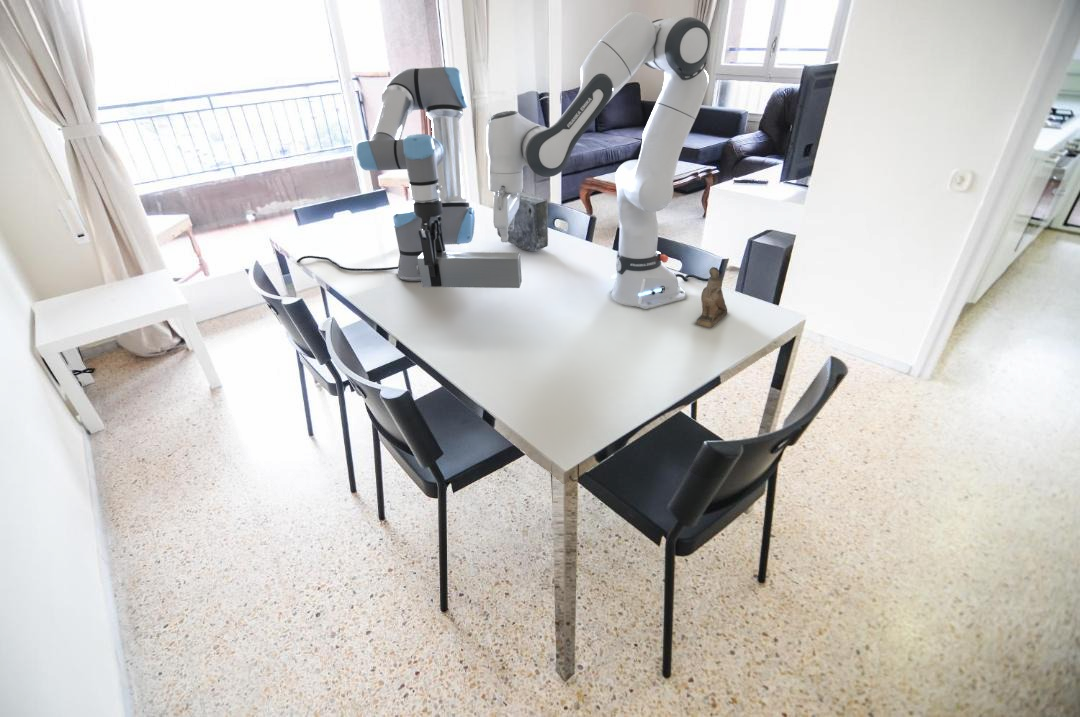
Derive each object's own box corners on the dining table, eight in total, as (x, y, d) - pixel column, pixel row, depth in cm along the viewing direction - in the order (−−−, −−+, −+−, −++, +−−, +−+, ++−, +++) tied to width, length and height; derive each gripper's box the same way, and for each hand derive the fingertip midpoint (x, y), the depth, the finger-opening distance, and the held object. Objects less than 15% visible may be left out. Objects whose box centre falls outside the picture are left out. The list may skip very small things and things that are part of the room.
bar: (422, 286, 141) (417, 258, 136) (427, 280, 145) (422, 252, 141) (519, 288, 138) (517, 258, 134) (521, 281, 142) (520, 252, 138)
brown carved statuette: (709, 335, 136) (713, 280, 124) (691, 329, 139) (693, 274, 128) (730, 313, 142) (736, 258, 130) (712, 307, 145) (716, 253, 133)
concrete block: (553, 252, 189) (552, 199, 179) (534, 258, 185) (532, 204, 175) (514, 236, 208) (511, 187, 198) (496, 241, 204) (492, 191, 193)
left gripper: (430, 208, 122) (443, 295, 134) (449, 191, 137) (459, 270, 149) (401, 208, 123) (416, 294, 135) (423, 191, 138) (435, 270, 150)
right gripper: (511, 192, 117) (513, 248, 124) (523, 174, 135) (524, 225, 142) (485, 191, 118) (488, 247, 125) (500, 174, 135) (502, 224, 142)
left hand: (439, 282), depth 142 cm, fingers closed on bar, 5 cm apart
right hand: (507, 235), depth 134 cm, fingers open, 8 cm apart
